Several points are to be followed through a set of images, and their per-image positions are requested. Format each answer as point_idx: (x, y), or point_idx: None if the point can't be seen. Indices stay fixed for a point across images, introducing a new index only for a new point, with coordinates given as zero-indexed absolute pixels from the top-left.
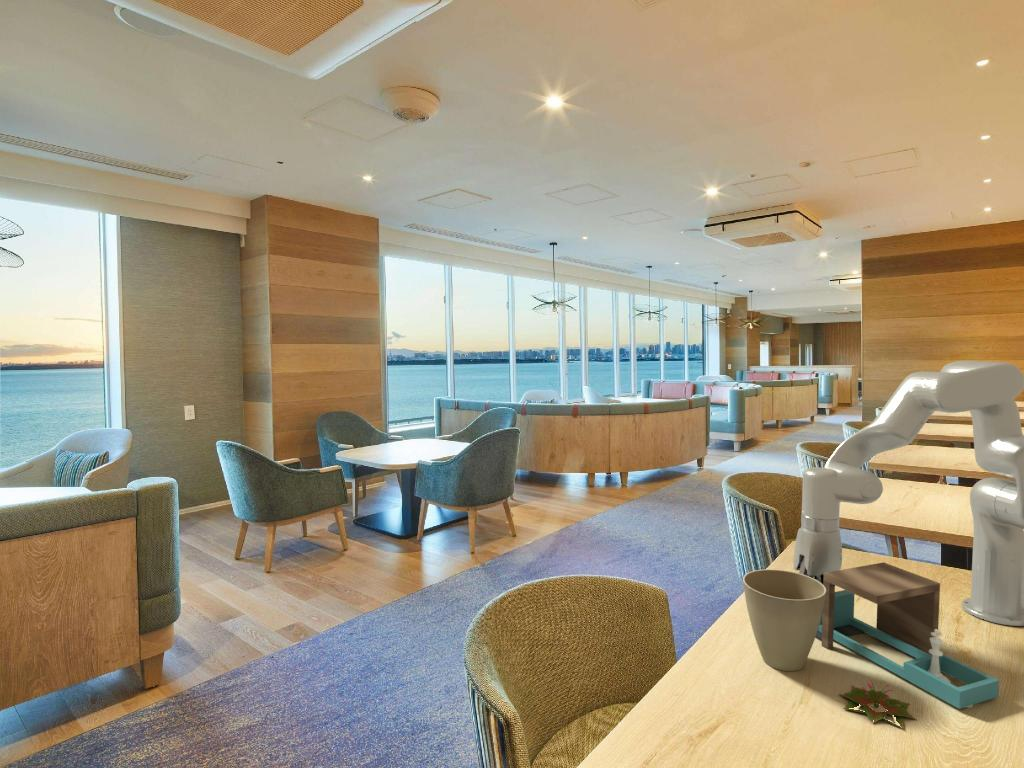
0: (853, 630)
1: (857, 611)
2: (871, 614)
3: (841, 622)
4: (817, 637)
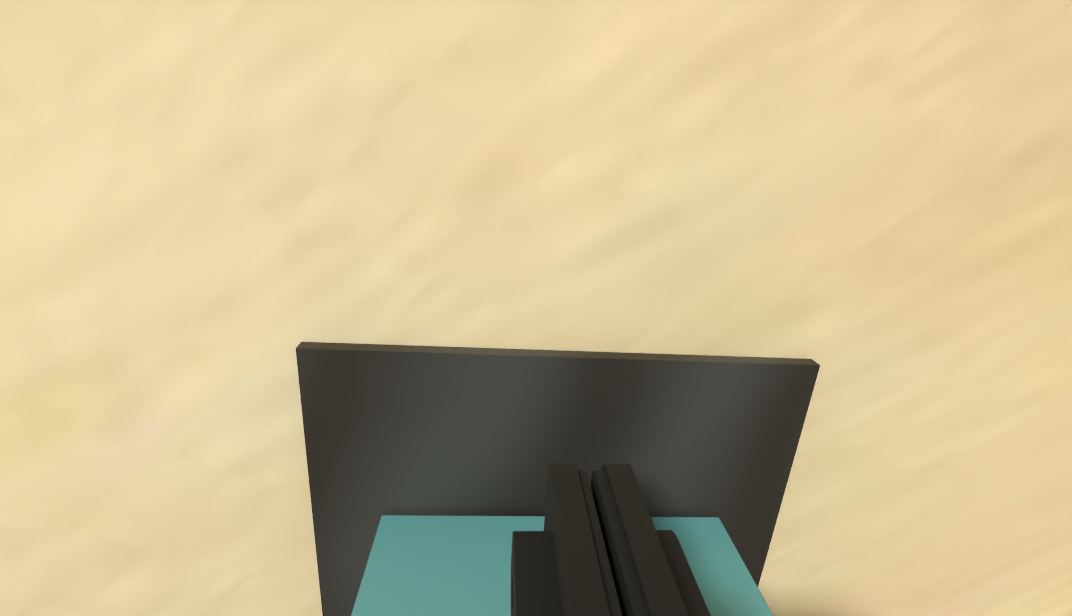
0: None
1: (963, 419)
2: (986, 481)
3: None
4: (323, 596)
